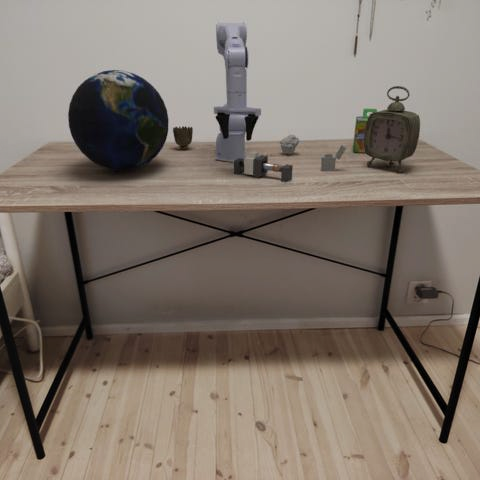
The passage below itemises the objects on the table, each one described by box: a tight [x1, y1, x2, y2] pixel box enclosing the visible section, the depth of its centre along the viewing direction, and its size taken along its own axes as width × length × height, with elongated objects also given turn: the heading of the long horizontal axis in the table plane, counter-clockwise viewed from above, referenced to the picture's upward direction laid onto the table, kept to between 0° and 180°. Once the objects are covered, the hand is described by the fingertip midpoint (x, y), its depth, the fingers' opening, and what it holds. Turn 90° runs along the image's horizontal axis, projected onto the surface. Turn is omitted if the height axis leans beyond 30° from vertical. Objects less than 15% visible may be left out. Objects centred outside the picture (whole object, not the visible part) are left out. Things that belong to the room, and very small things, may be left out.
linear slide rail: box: [233, 158, 294, 183], centre depth 133 cm, size 18×4×4 cm, turn 62°
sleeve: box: [243, 150, 260, 176], centre depth 134 cm, size 3×5×6 cm, turn 151°
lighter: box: [320, 144, 347, 172], centre depth 138 cm, size 7×2×8 cm, turn 89°
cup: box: [172, 125, 194, 151], centre depth 164 cm, size 8×7×8 cm
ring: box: [253, 154, 269, 178], centre depth 133 cm, size 2×5×5 cm, turn 152°
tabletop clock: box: [364, 85, 421, 173], centre depth 136 cm, size 14×9×25 cm, turn 47°
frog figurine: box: [279, 134, 300, 155], centre depth 156 cm, size 6×7×7 cm
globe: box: [67, 69, 169, 172], centre depth 136 cm, size 30×30×30 cm
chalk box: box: [352, 108, 378, 154], centre depth 159 cm, size 9×9×15 cm
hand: (237, 139), depth 133 cm, fingers open, 7 cm apart
